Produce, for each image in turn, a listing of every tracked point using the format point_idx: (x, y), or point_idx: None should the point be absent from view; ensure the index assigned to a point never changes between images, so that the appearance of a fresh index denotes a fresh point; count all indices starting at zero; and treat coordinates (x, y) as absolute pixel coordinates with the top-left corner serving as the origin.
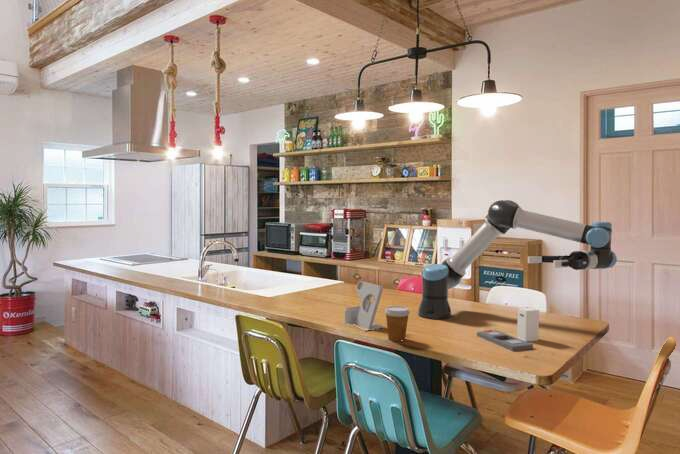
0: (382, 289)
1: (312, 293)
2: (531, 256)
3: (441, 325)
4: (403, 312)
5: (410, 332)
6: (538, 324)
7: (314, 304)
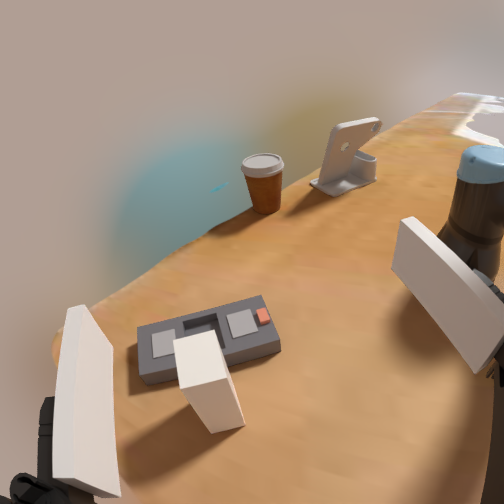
0: (336, 133)
1: None
2: (430, 237)
3: (380, 264)
4: (243, 167)
5: (312, 221)
6: (195, 410)
7: (443, 153)
